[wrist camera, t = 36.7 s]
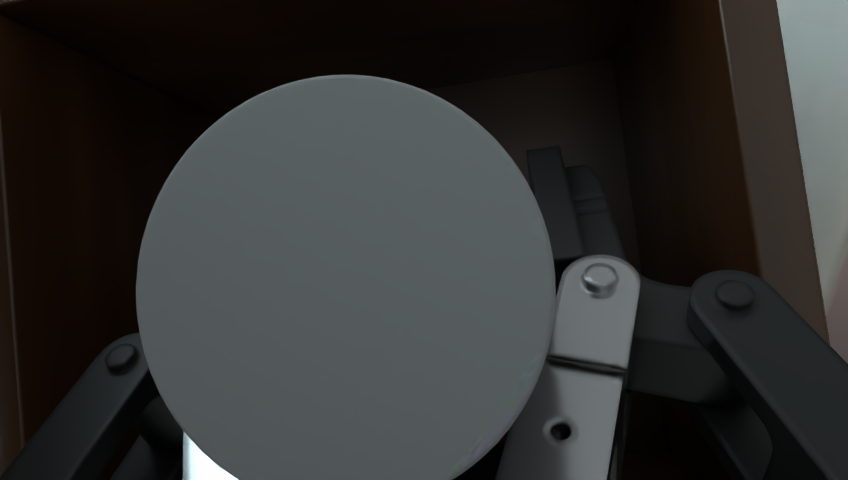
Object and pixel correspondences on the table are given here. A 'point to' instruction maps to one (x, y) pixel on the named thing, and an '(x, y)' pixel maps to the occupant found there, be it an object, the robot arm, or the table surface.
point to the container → (345, 286)
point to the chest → (420, 67)
